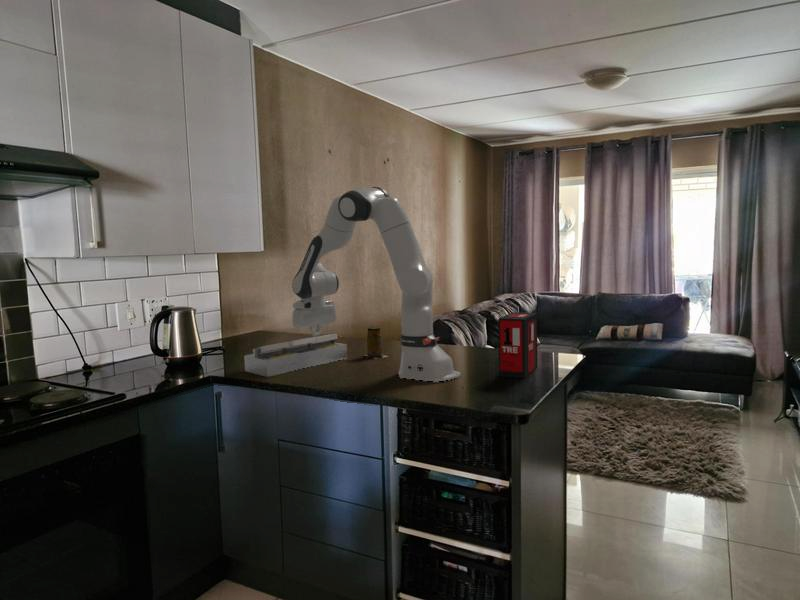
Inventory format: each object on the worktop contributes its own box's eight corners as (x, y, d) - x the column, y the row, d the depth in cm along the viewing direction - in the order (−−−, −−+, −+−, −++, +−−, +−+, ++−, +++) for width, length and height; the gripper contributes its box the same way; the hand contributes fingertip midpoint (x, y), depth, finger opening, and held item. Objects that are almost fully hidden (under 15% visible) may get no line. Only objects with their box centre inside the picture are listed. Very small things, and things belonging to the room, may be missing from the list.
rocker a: (338, 338, 226) (337, 333, 226) (318, 342, 218) (317, 337, 218) (324, 339, 232) (323, 335, 232) (304, 343, 225) (303, 338, 225)
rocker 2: (314, 341, 217) (313, 336, 217) (293, 345, 210) (292, 340, 210) (301, 345, 223) (300, 340, 223) (280, 349, 216) (279, 344, 216)
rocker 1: (289, 346, 208) (288, 341, 209) (266, 351, 201) (264, 345, 201) (276, 350, 215) (275, 344, 215) (253, 354, 207) (252, 349, 207)
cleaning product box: (524, 378, 186) (524, 319, 184) (499, 375, 190) (498, 318, 188) (537, 367, 200) (537, 313, 198) (513, 366, 205) (512, 312, 203)
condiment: (376, 354, 234) (375, 326, 233) (388, 356, 228) (388, 328, 227) (362, 356, 230) (361, 328, 229) (374, 359, 223) (373, 330, 222)
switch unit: (347, 358, 226) (346, 336, 225) (267, 376, 198) (266, 351, 198) (323, 354, 236) (322, 332, 235) (245, 371, 209) (243, 346, 208)
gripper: (329, 299, 236) (330, 331, 237) (289, 304, 221) (291, 338, 223) (338, 300, 232) (340, 332, 233) (298, 305, 217) (300, 340, 218)
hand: (315, 335), depth 228 cm, fingers closed
